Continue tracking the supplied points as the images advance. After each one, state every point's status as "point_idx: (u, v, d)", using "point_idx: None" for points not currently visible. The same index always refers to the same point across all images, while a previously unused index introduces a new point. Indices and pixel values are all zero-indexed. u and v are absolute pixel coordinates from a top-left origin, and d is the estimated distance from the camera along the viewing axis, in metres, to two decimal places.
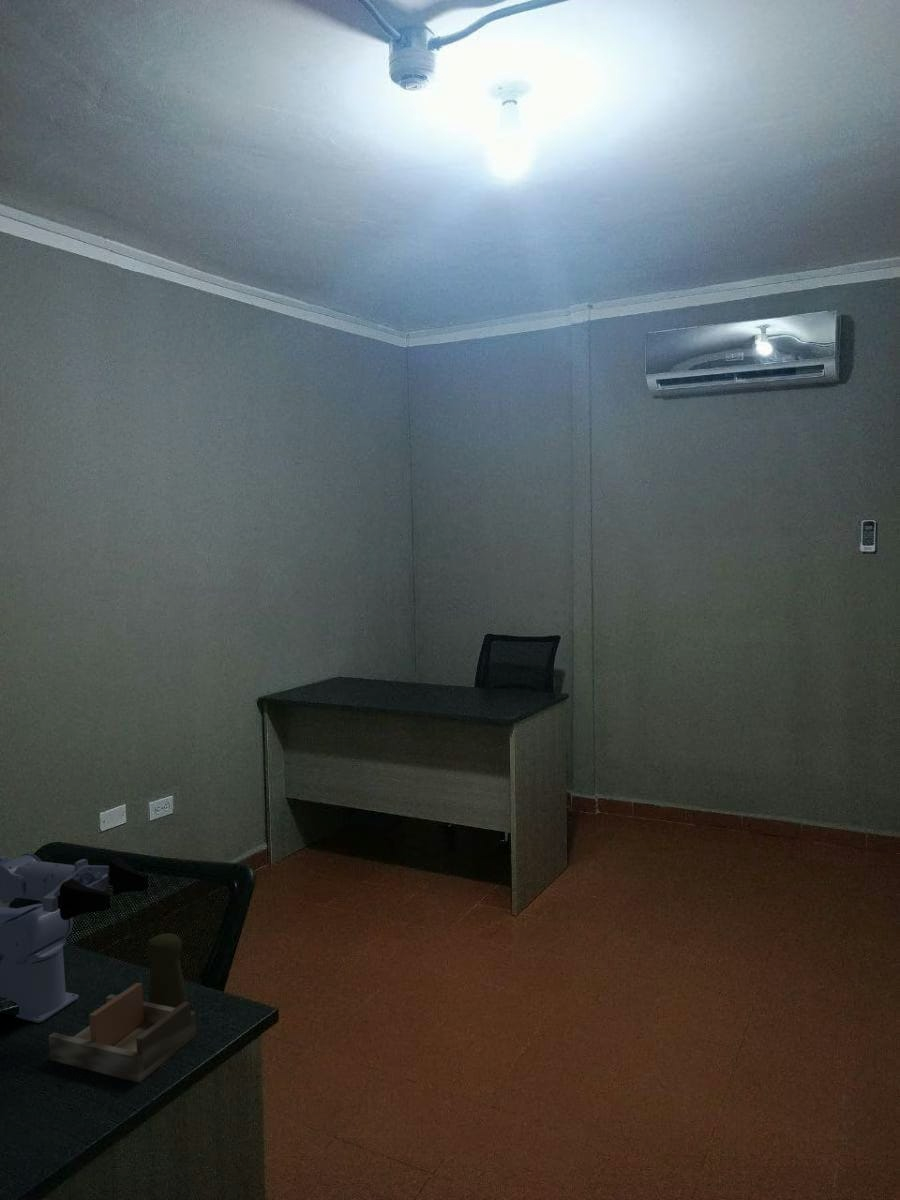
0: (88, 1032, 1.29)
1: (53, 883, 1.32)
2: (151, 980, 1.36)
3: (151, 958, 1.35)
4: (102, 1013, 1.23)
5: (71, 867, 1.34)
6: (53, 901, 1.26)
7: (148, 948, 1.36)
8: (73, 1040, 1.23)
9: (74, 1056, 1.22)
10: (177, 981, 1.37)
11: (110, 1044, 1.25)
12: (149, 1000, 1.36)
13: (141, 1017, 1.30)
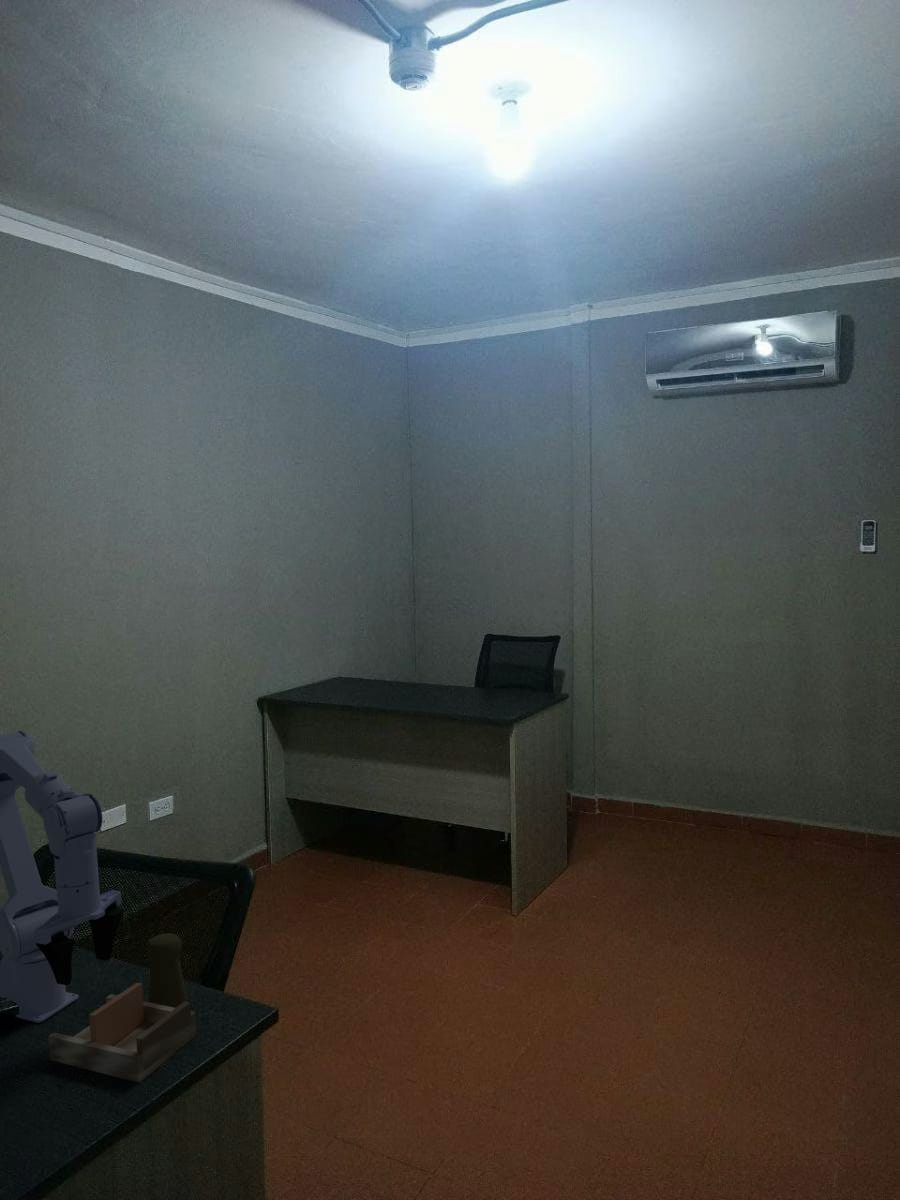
0: (88, 1032, 1.29)
1: (70, 898, 1.25)
2: (151, 980, 1.36)
3: (151, 958, 1.35)
4: (102, 1013, 1.23)
5: (92, 902, 1.26)
6: None
7: (148, 948, 1.36)
8: (73, 1040, 1.23)
9: (74, 1056, 1.22)
10: (177, 981, 1.37)
11: (110, 1044, 1.25)
12: (149, 1000, 1.36)
13: (141, 1017, 1.30)
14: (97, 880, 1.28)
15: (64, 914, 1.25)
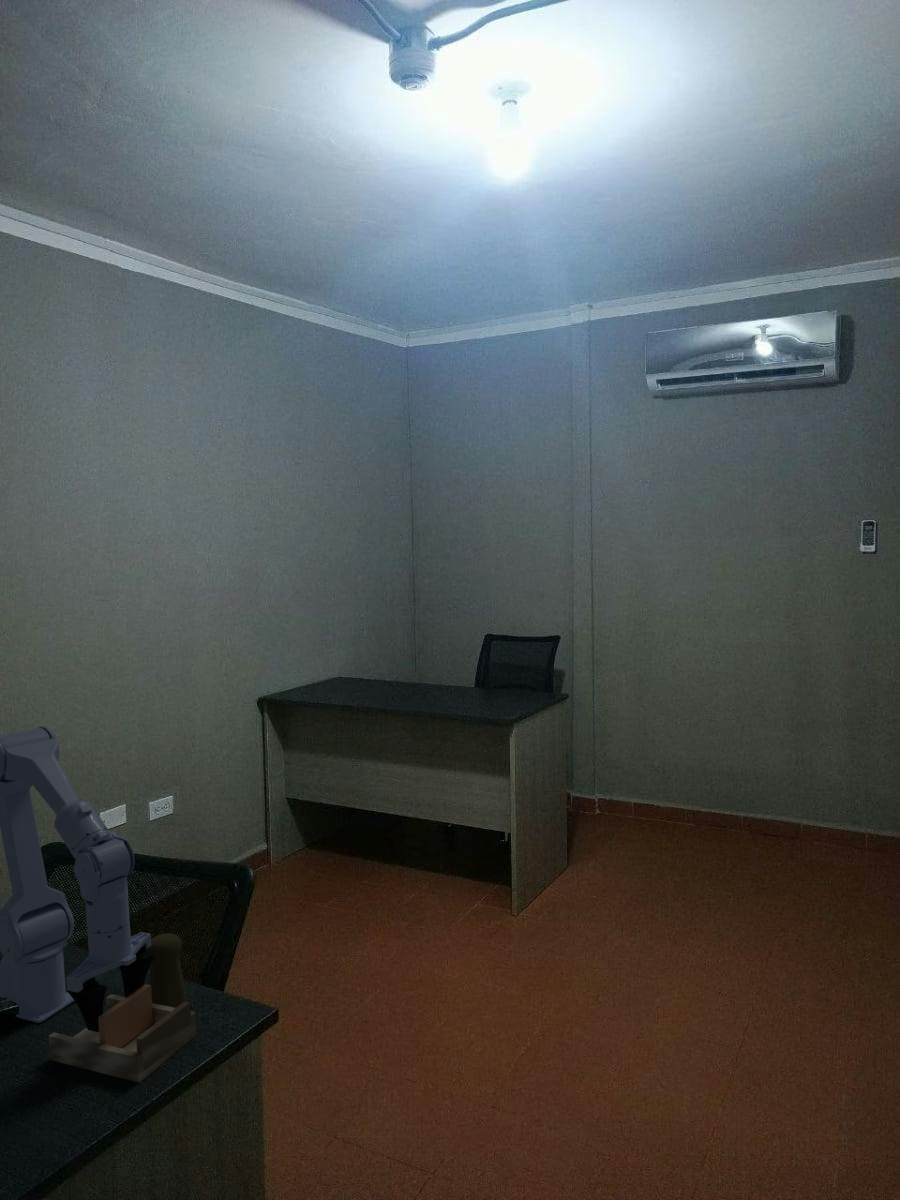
0: (88, 1032, 1.29)
1: (101, 944, 1.23)
2: (151, 980, 1.36)
3: None
4: (111, 1015, 1.23)
5: (124, 947, 1.25)
6: None
7: (148, 948, 1.36)
8: (73, 1040, 1.23)
9: (74, 1056, 1.22)
10: (177, 981, 1.37)
11: (119, 1046, 1.24)
12: None
13: (150, 1019, 1.30)
14: (128, 925, 1.26)
15: (95, 959, 1.24)
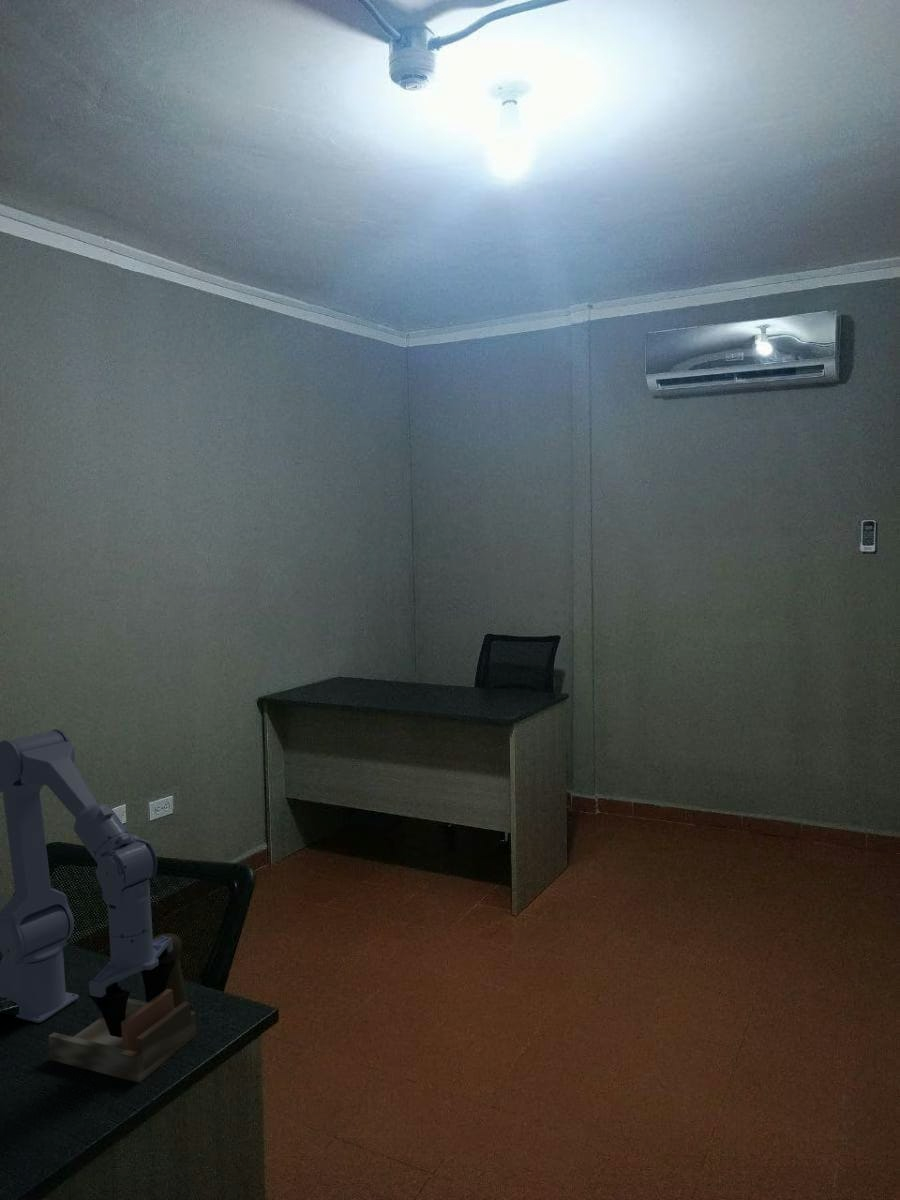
0: (88, 1032, 1.29)
1: (124, 949, 1.22)
2: None
3: None
4: (134, 1020, 1.21)
5: (146, 951, 1.23)
6: None
7: None
8: (73, 1040, 1.23)
9: (74, 1056, 1.22)
10: (177, 981, 1.37)
11: None
12: None
13: None
14: (151, 929, 1.25)
15: (118, 964, 1.22)
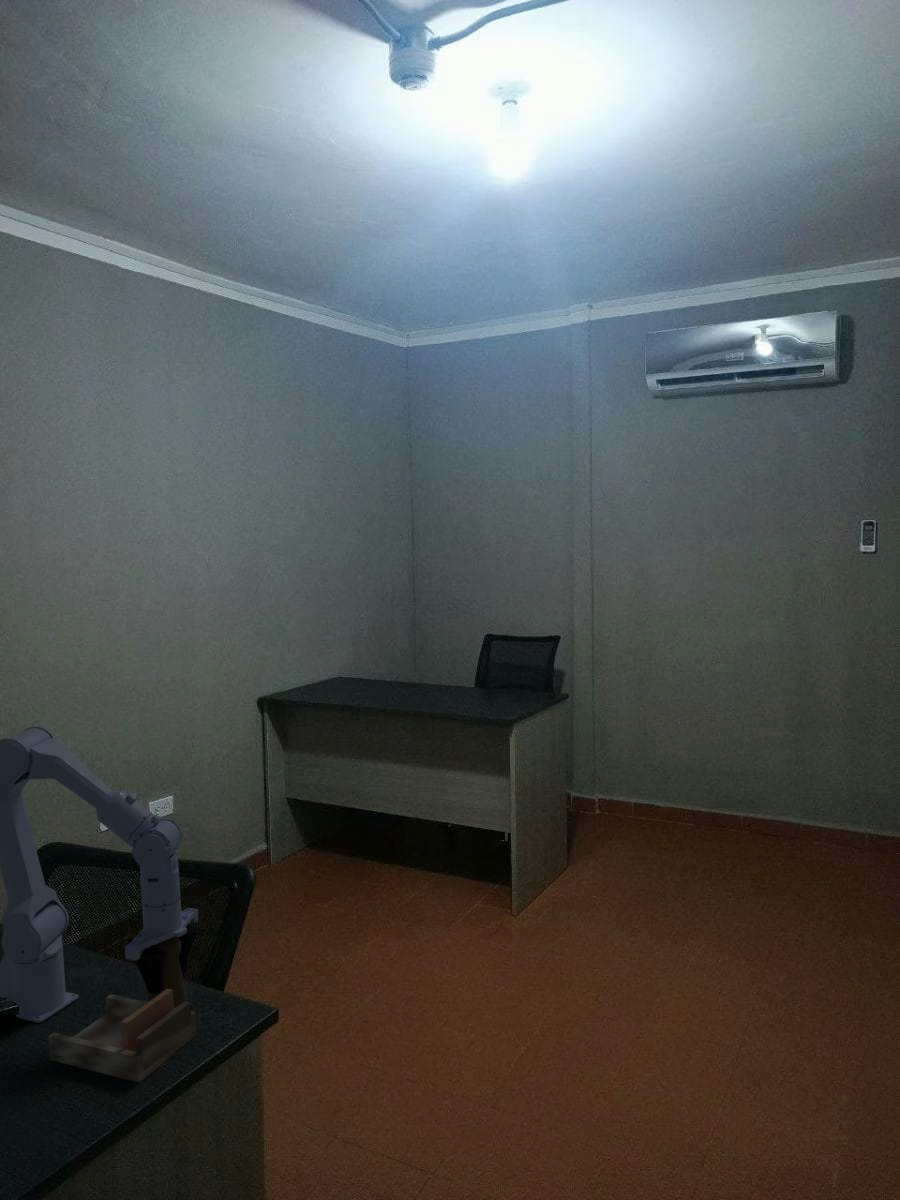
0: (88, 1032, 1.29)
1: (156, 917, 1.34)
2: None
3: None
4: (134, 1020, 1.21)
5: (176, 920, 1.36)
6: None
7: None
8: (73, 1040, 1.23)
9: (74, 1056, 1.22)
10: (177, 981, 1.37)
11: None
12: (149, 1000, 1.36)
13: None
14: (179, 900, 1.37)
15: (150, 931, 1.34)
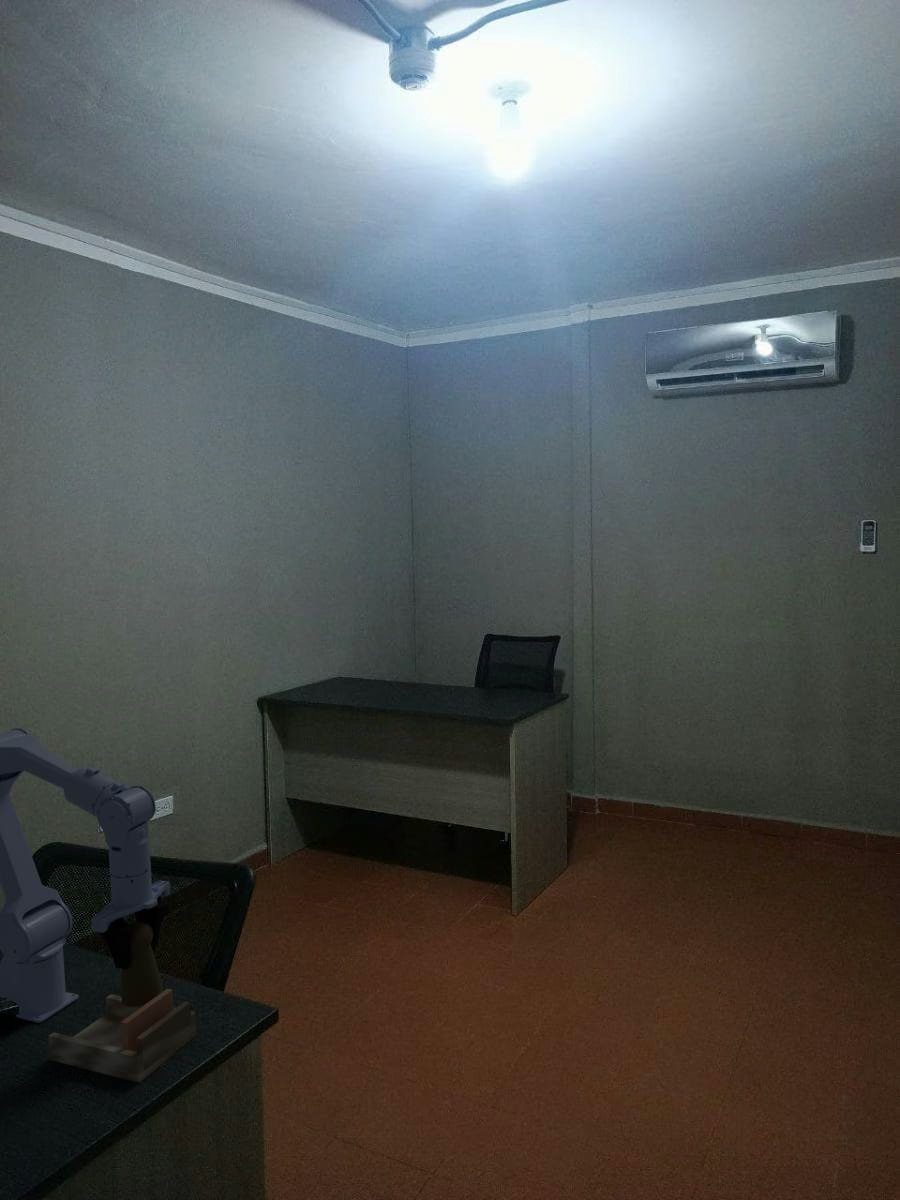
0: (88, 1032, 1.29)
1: (124, 888, 1.28)
2: (123, 971, 1.30)
3: None
4: (134, 1020, 1.21)
5: (145, 892, 1.30)
6: None
7: None
8: (73, 1040, 1.23)
9: (74, 1056, 1.22)
10: (150, 970, 1.31)
11: None
12: (122, 992, 1.30)
13: None
14: (150, 870, 1.31)
15: (118, 903, 1.28)
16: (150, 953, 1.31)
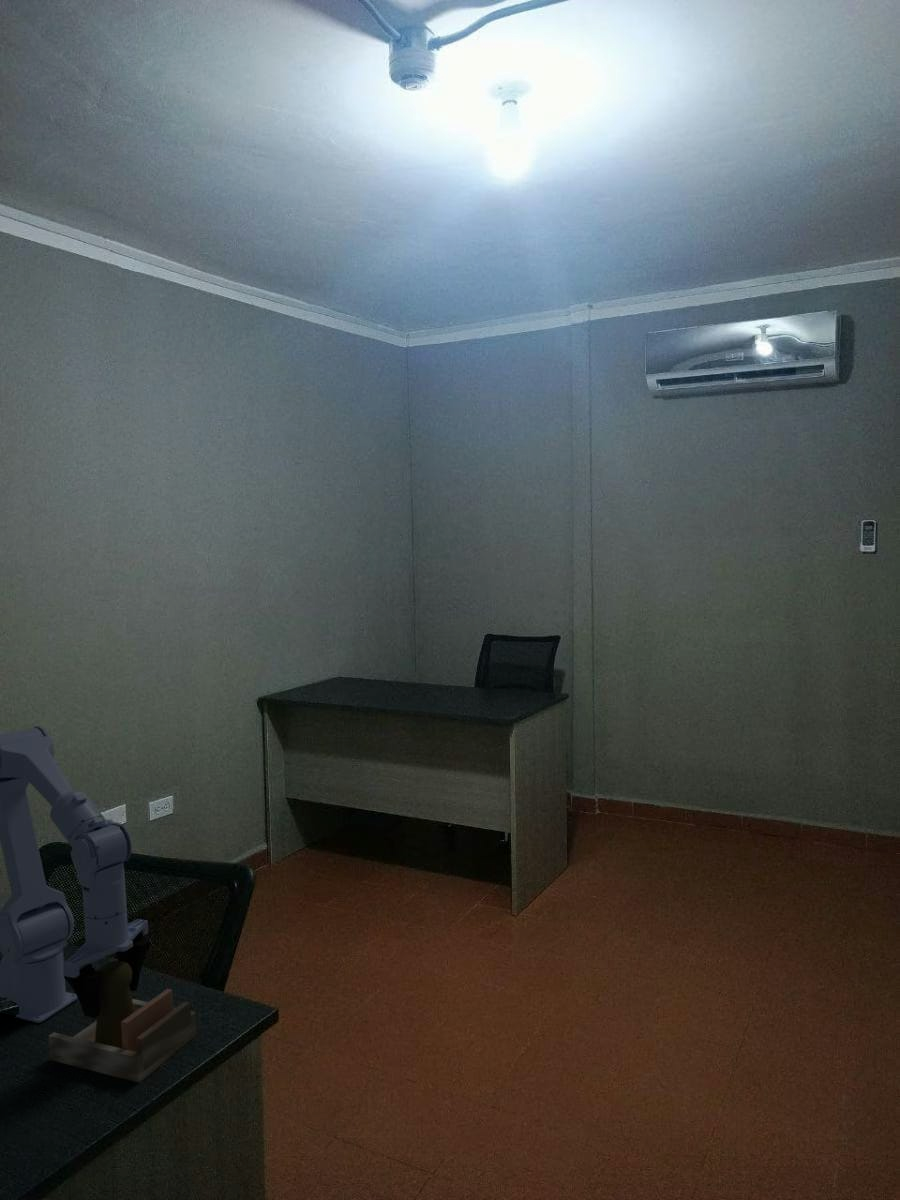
0: (88, 1032, 1.29)
1: (98, 930, 1.23)
2: None
3: None
4: (134, 1020, 1.21)
5: (121, 933, 1.25)
6: None
7: None
8: (73, 1040, 1.23)
9: (74, 1056, 1.22)
10: (127, 1013, 1.26)
11: None
12: (96, 1034, 1.25)
13: None
14: (125, 911, 1.26)
15: (92, 945, 1.24)
16: (128, 995, 1.26)
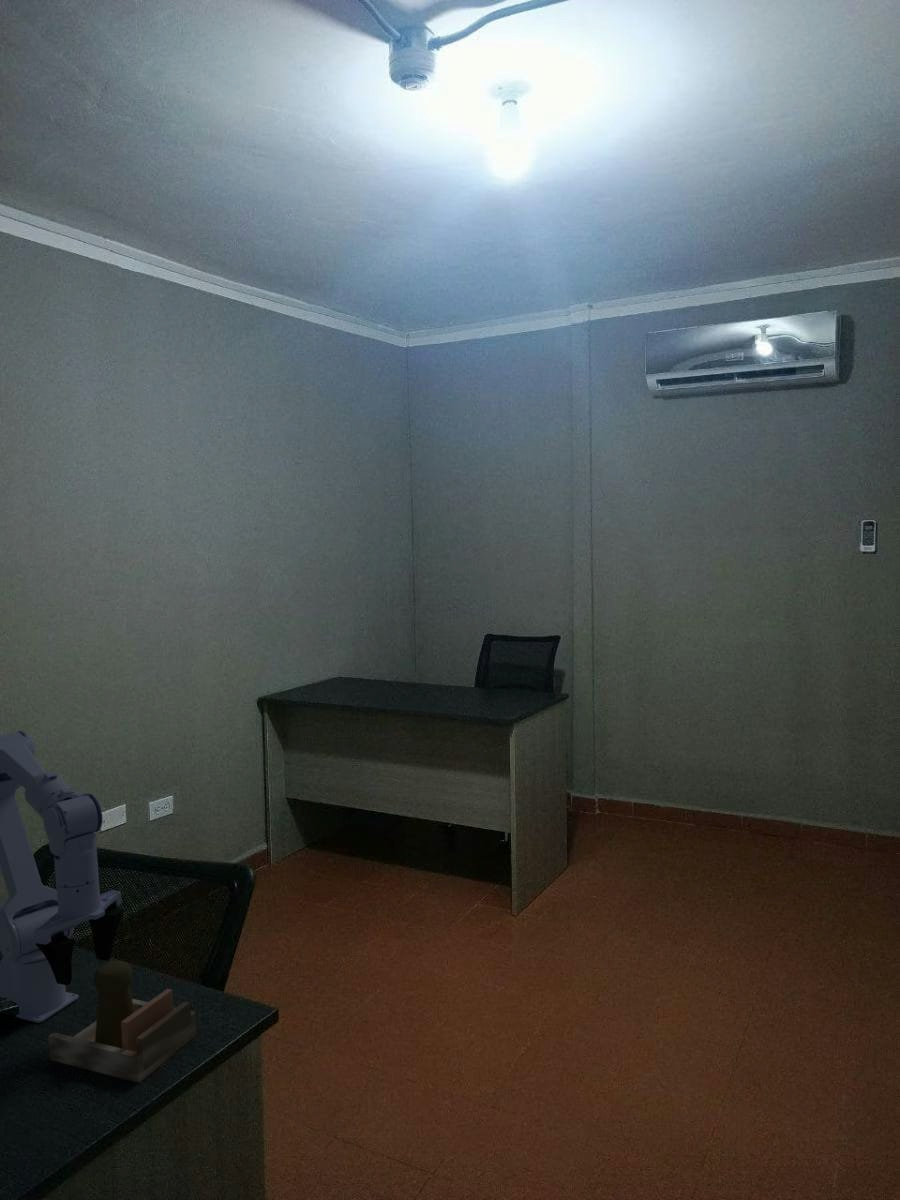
0: (88, 1032, 1.29)
1: (70, 898, 1.25)
2: (98, 1012, 1.25)
3: (98, 988, 1.24)
4: (134, 1020, 1.21)
5: (92, 902, 1.26)
6: None
7: (95, 977, 1.25)
8: (73, 1040, 1.23)
9: (74, 1056, 1.22)
10: (127, 1013, 1.26)
11: None
12: (96, 1034, 1.25)
13: None
14: (97, 880, 1.28)
15: (64, 914, 1.25)
16: (128, 995, 1.26)
